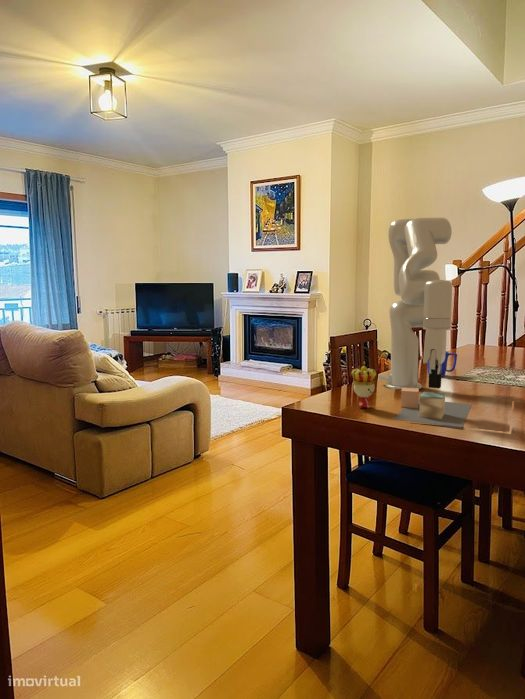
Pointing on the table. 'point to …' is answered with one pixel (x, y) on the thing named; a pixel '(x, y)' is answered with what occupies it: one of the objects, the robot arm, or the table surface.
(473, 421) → the table surface
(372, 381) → the toy
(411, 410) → the mat
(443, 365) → the mug
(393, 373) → the robot arm
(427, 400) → the maple block
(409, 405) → the terracotta block
